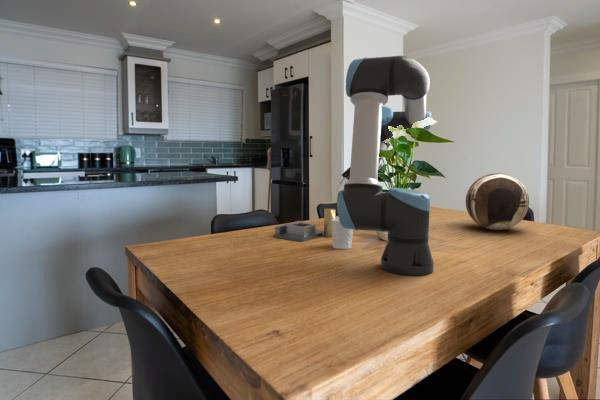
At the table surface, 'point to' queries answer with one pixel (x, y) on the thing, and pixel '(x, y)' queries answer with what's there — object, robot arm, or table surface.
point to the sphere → (497, 201)
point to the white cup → (341, 235)
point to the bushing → (328, 221)
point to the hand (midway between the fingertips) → (349, 193)
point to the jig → (297, 231)
